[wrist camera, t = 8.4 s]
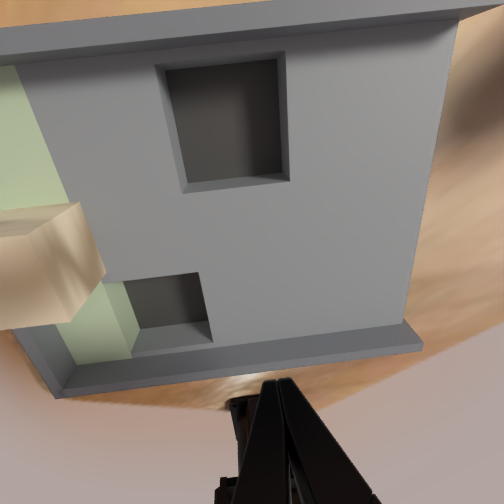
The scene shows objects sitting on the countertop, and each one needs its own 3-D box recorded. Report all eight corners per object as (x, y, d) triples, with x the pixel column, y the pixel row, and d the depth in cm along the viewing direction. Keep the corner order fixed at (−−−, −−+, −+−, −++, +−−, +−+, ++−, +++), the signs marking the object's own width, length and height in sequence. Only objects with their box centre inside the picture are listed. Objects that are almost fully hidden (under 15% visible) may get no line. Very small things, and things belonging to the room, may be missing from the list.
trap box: (386, 306, 24) (421, 351, 20) (88, 344, 24) (55, 399, 19) (429, 14, 15) (512, -24, 11) (-49, 64, 15) (-170, 44, 10)
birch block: (106, 272, 17) (70, 321, 13) (32, 281, 17) (-27, 333, 13) (79, 201, 15) (26, 234, 11) (-6, 210, 15) (-89, 247, 11)
